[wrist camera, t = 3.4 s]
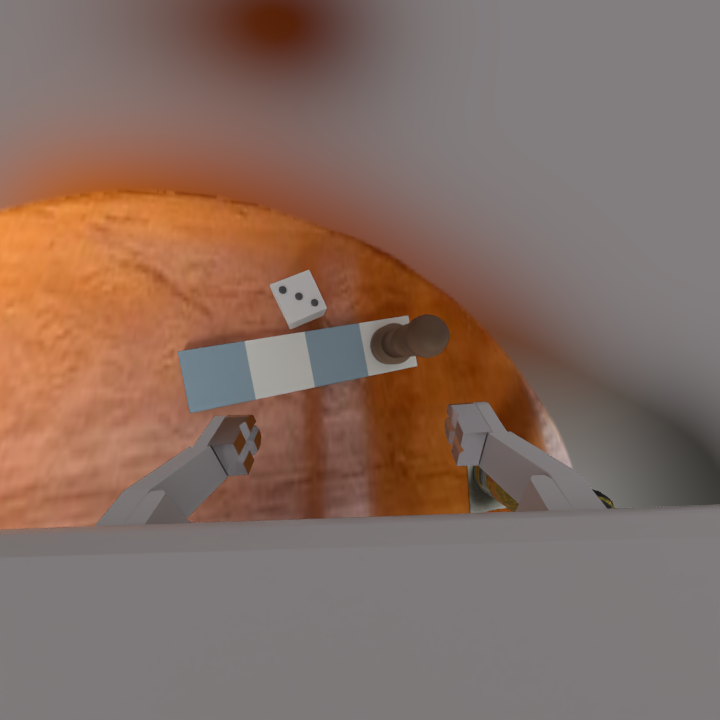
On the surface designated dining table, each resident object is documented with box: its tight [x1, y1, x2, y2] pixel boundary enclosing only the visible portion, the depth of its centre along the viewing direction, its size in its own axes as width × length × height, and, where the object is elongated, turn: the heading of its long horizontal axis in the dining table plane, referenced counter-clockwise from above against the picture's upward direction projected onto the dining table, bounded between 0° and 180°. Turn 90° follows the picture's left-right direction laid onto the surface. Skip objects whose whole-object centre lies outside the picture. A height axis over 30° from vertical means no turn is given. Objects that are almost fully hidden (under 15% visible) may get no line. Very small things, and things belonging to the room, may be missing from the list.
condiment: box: [467, 465, 615, 513], centre depth 27 cm, size 7×8×12 cm
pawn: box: [370, 315, 449, 364], centre depth 24 cm, size 4×4×11 cm
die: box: [270, 270, 327, 330], centre depth 26 cm, size 4×4×4 cm
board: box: [178, 316, 417, 413], centre depth 28 cm, size 6×24×1 cm, turn 101°
